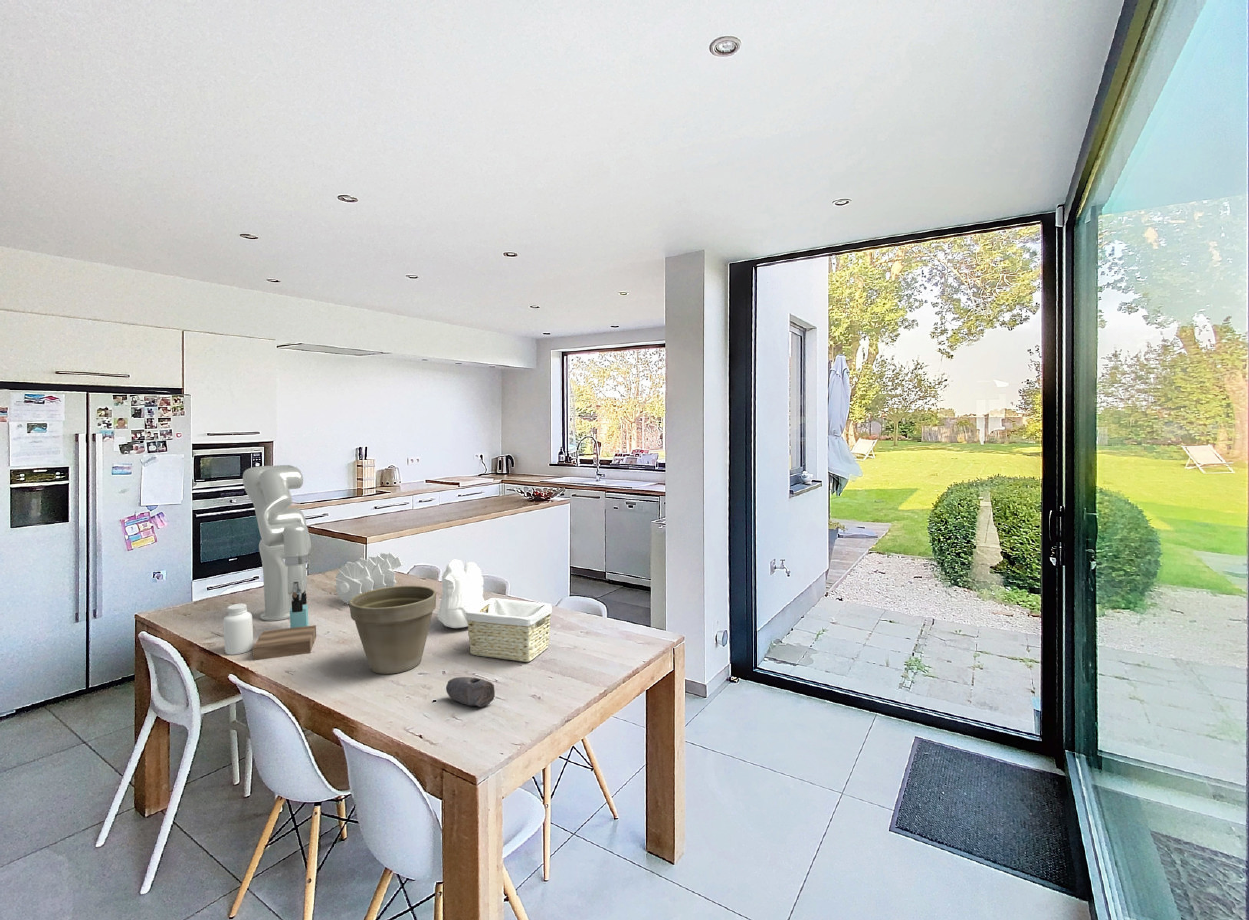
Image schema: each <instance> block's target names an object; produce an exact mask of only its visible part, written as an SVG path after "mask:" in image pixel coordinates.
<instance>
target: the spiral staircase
mask: <svg viewBox="0 0 1249 920" xmlns="http://www.w3.org/2000/svg"><path fill="white" fill-rule="evenodd" d="M402 566H403V563H402V561H401V558H400V557H399V556H398V557H396V555H394V554H393V553H392V552H391V551H389V553H383V552H380V555H379V554H378V555H376V556H368V558H367V559H365V558H361V557H359V560H357V561H354V562H351V561H347V562H346V564H344V565H342V566H340V567H339V570H338V572H337V573H336V576H335V578H336V579H335V585H334V586H335V590H336V594H337V596H338V597H339V598H340V599H341V601H342V602H343V603H347V604H348V605H349V604H350V603H349V602H350V600H351V599H352V598H353V597H355V596H356V595H359V594H361V593H364V592H367V591H371V590H375V589H380V588H386V587H394V586H396V584H398V582H397V580H395V579H396V571H394V570H396V569H398V568H400V567H402Z"/></svg>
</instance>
